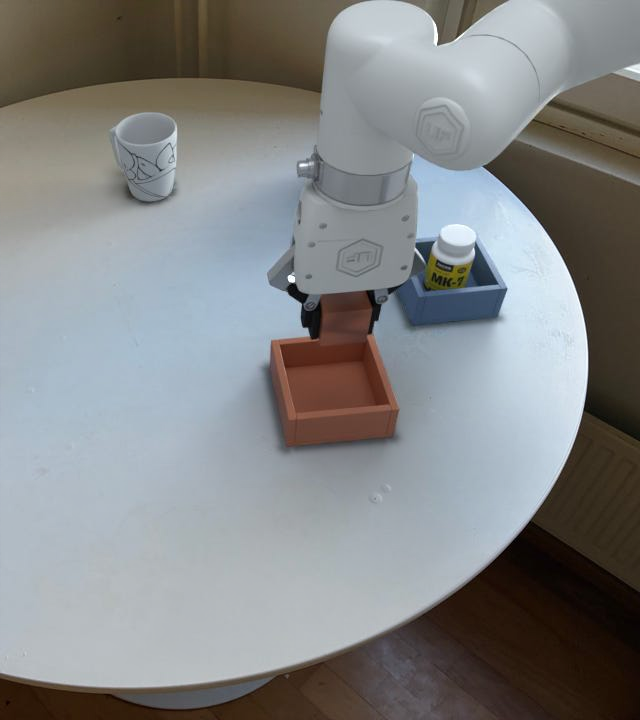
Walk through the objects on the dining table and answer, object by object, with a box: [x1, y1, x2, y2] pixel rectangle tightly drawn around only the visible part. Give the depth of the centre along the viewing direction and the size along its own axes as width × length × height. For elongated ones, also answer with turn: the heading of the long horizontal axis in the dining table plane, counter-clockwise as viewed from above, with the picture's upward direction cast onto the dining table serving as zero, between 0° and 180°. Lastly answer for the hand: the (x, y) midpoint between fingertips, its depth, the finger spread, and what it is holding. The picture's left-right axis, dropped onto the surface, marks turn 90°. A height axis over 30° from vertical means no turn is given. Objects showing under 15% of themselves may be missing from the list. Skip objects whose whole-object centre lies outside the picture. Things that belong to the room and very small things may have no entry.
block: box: [317, 290, 372, 346], centre depth 73 cm, size 4×4×4 cm
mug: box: [108, 111, 178, 203], centre depth 109 cm, size 11×8×10 cm
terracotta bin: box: [269, 332, 401, 448], centre depth 82 cm, size 11×11×5 cm
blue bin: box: [397, 232, 509, 326], centre depth 92 cm, size 10×10×5 cm
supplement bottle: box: [423, 223, 476, 292], centre depth 90 cm, size 5×5×8 cm
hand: (338, 325), depth 75 cm, fingers closed on block, 4 cm apart
